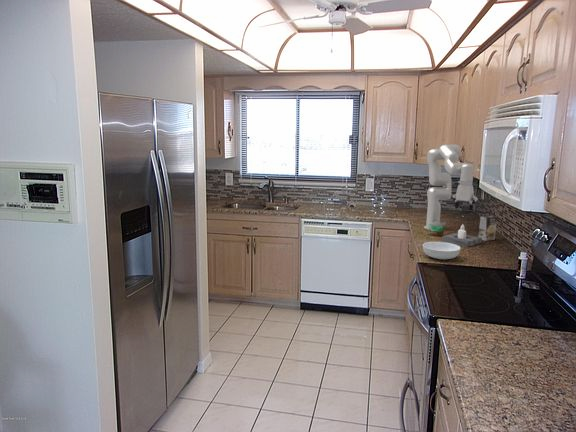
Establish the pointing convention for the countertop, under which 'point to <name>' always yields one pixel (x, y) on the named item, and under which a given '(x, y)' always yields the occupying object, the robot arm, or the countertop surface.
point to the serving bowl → (441, 250)
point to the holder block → (461, 240)
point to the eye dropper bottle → (462, 232)
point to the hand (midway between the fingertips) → (463, 209)
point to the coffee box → (487, 227)
